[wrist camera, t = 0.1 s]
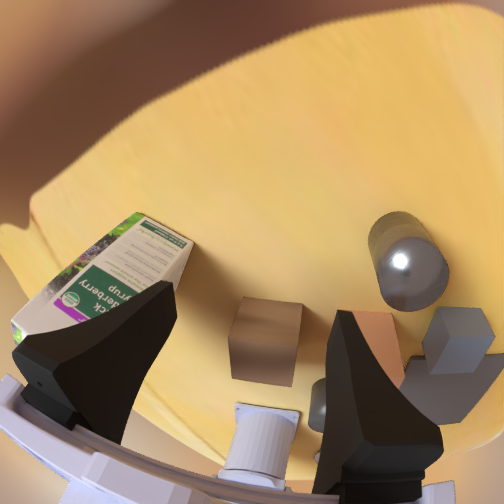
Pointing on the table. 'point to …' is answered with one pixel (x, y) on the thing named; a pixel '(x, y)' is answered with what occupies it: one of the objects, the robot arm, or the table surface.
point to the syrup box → (106, 276)
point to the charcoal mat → (448, 388)
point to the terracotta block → (382, 342)
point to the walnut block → (265, 341)
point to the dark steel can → (406, 262)
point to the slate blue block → (456, 340)
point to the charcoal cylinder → (318, 406)
